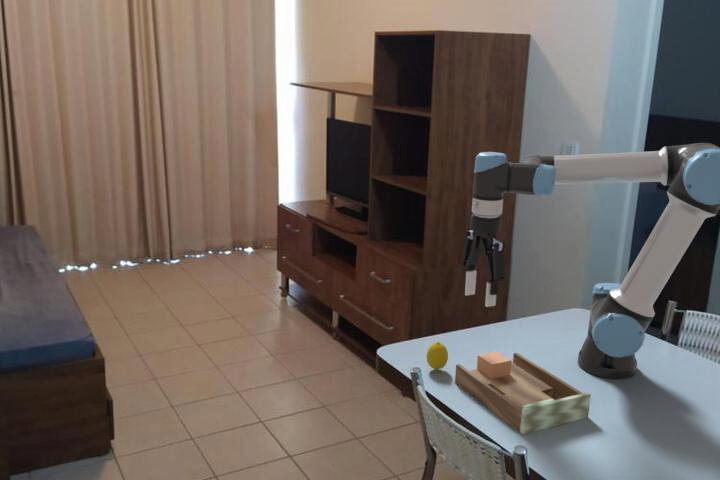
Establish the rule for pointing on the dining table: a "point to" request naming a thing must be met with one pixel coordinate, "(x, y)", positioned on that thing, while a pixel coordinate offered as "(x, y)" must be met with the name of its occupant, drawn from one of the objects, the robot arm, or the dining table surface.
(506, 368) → the block
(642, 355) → the dining table surface
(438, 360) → the lemon
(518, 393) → the box
